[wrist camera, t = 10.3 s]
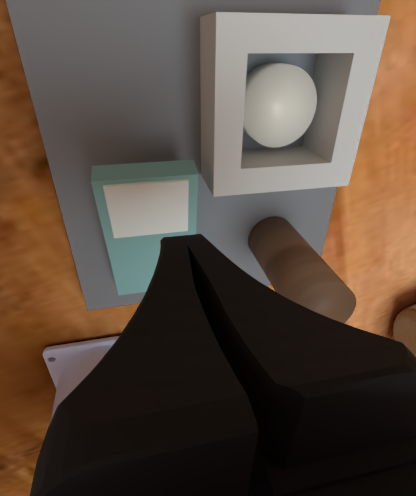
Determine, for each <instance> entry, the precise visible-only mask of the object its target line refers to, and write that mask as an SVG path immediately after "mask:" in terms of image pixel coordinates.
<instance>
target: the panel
mask: <svg viewBox="0 0 416 496" xmlns="http://www.w3.org/2000/svg"><path fill="white" fill-rule="evenodd" d="M380 1H381V0H6V4H7V8H8V12H9V16H10V19H11V23H12V27H13V31H14V35H15V38H16V42H17V46H18V50H19V53H20V57H21V61H22V65H23V69H24V72H25V76H26V80H27V84H28V88H29V91H30V95H31V99H32V103H33V106H34V110H35V114H36V118H37V122H38V125H39V129H40V133H41V137H42V141H43V144H44V148H45V152H46V156H47V160H48V163H49V167H50V171H51V175H52V178H53V182H54V186H55V190H56V194H57V197H58V201H59V205H60V209H61V213H62V216H63V220H64V224H65V228H66V231H67V235H68V239H69V243H70V247H71V250H72V254H73V258H74V262H75V266H76V269H77V273H78V277H79V281H80V284H81V288H82V292H83V296H84V300H85V303H86V307H87V310H95V309H102V308H109V307H116V306H124V305H131V304H138V303H141V301H142V299H143V297H144V295H145V293H146V292H141V293H134V294H126V295H118V291H117V287H116V283H115V279H114V275H113V270H112V266H111V262H110V258H109V254H108V250H107V246H106V242H105V238H104V234H103V230H102V225H101V221H100V217H99V213H98V209H97V205H96V201H95V197H94V193H93V189H92V184H91V171H92V166H97V165H113V164H129V163H146V162H162V161H178V160H194V162H195V165H196V168H197V171H198V197H197V222H196V234H202V235H203V236H204V237H205V238H206V239H207V240H208V241H210V242H211V243H212V244H213V245H214V246H215V247H216V248H217V249H218V250H219V251H220V252H222V253H223V254H224V255H225V256H226V257H227V258H228V259H230V260H231V261H232V262H233V263H235V264H236V265H237V266H238V267H240V268H241V269H242V270H243V271H245V272H246V273H248V274H249V275H250V276H252V277H253V278H255V279H256V280H258V281H259V282H261V283H262V284H264V285H265V286H268V285H271V283H270V281H269V280H268V278H267V276H266V275H265V273H264V271H263V270H262V268H261V266H260V265H259V263H258V261H257V260H256V258H255V256H254V255H253V253H252V251H251V250H250V248H249V245H248V237H249V234H250V232H251V230H252V228H253V227H254V226H255V225H256V224H257V223H258V222H260V221H261V220H263V219H265V218H268V217H272V216H278V217H282V218H285V219H286V220H287V221H288V222H289V223H290V224H291V225H292V226H293V227H294V228H295V229H296V230H297V231H298V233H299V234H300V235H301V236H302V237H303V238H304V239H305V240H306V241H307V243H308V244H309V245H310V246H311V247H312V248H313V249H314V250H315V251H316V252H317V254H318V255H319V256H320V257H321V255H322V251H323V247H324V242H325V238H326V234H327V229H328V225H329V221H330V216H331V212H332V208H333V203H334V199H335V195H336V191H337V186H348V185H349V181H350V177H351V173H352V169H353V165H354V161H355V157H356V153H357V149H358V145H359V141H360V137H361V133H362V129H363V125H364V121H365V117H366V113H367V109H368V105H369V101H370V97H371V93H372V89H373V85H374V81H375V77H376V73H377V69H378V65H379V61H380V57H381V53H382V49H383V45H384V41H385V37H386V33H387V29H388V25H389V21H390V17H391V16H381V15H377V14H378V9H379V5H380ZM269 62H277V63H284V64H291V65H295V66H298V67H300V68H302V69H303V70H305V71H306V72H307V73H308V74H309V76H310V77H311V79H312V80H313V82H314V85H315V88H316V93H317V106H316V111H315V114H314V117H313V120H312V122H311V124H310V125H309V127H308V129H307V130H306V131H305V132H304V133H303V135H302V136H301V137H299V138H298V139H297V140H296V141H294V142H292V143H291V144H288V145H286V146H283V147H277V148H272V147H267V146H263V145H261V144H259V143H258V142H257V141H255V140H254V139H253V138H251V137H250V136H249V135H247V134H246V133H245V132H244V131H243V123H244V107H245V90H246V75H247V74H248V73H249V72H250V71H252V70H253V69H254V68H256V67H257V66H259V65H262V64H265V63H269Z"/></svg>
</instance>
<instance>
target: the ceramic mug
mask: <svg viewBox="0 0 416 496" xmlns="http://www.w3.org/2000/svg"><path fill="white" fill-rule="evenodd" d="M393 337H394V340H396V341H399V342H402V343H403V344H404V345H405V346H406V347H407V348H408V349H409V350H410V351H411V352H412V353H413V354H414V355H415V357H416V304H415V305H412V306H410V307H408V308H406V309H404V310H402V311H401V312H400V313H399V314H398V315H397V316H396V318H395V321H394V325H393Z"/></svg>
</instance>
